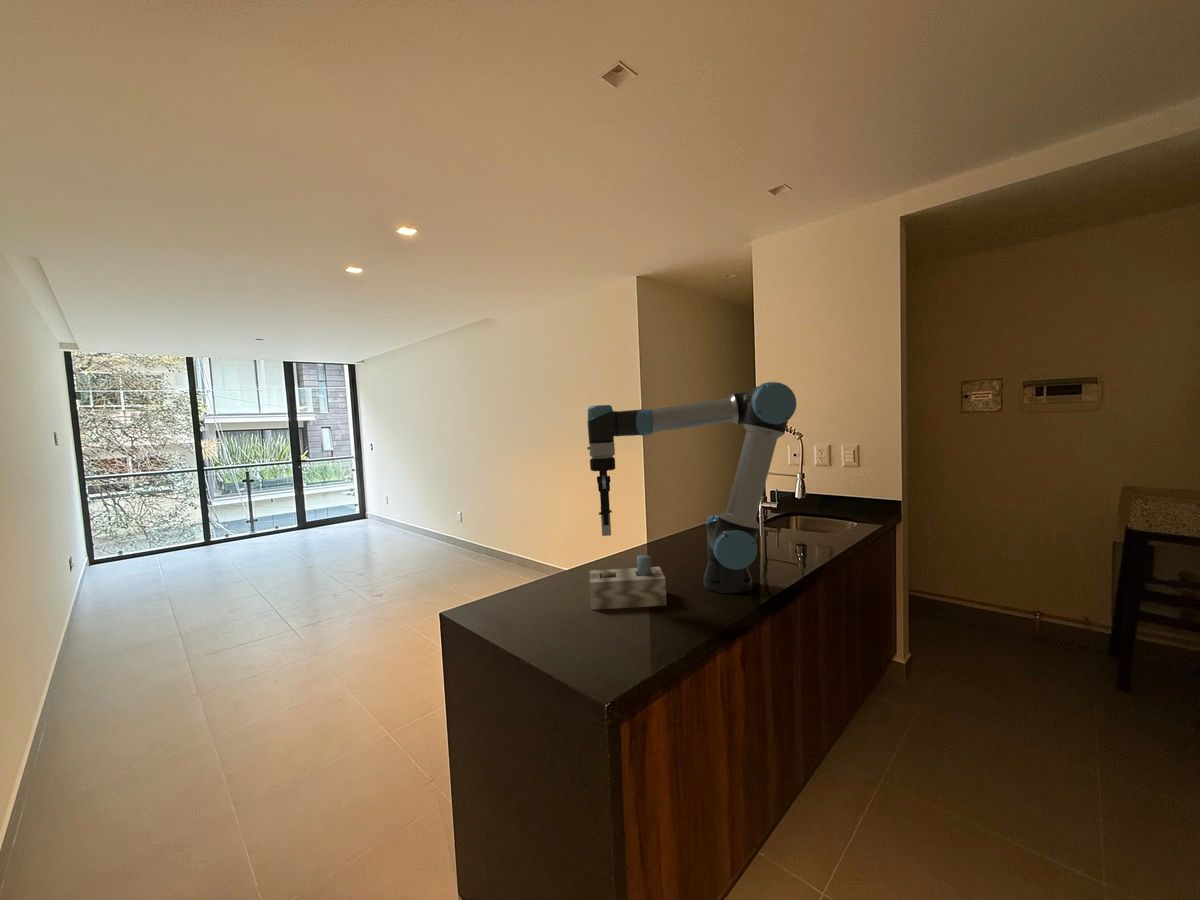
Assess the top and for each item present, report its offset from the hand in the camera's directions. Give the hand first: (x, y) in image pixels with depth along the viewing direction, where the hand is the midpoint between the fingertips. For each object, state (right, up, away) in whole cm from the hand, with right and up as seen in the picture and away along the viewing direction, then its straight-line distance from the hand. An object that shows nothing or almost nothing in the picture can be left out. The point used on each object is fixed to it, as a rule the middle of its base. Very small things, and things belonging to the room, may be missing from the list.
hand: (606, 535), depth 143 cm
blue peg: (+11, -15, +1) cm, 19 cm away
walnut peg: (+1, -20, +1) cm, 20 cm away
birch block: (+6, -20, +1) cm, 21 cm away
